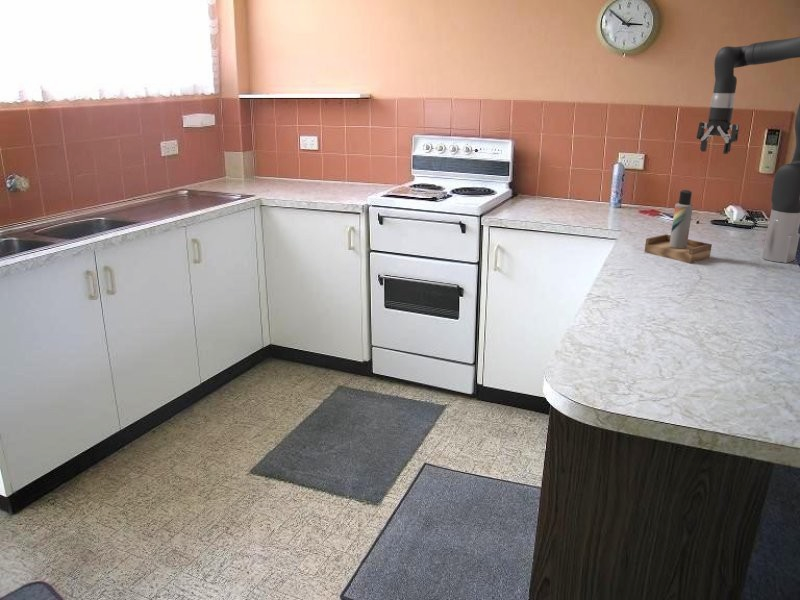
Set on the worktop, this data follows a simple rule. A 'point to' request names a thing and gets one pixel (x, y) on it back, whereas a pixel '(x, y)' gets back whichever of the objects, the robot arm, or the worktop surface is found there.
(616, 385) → the worktop surface
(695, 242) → the wooden serving tray
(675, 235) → the lotion bottle
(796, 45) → the robot arm
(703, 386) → the worktop surface
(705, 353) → the worktop surface
